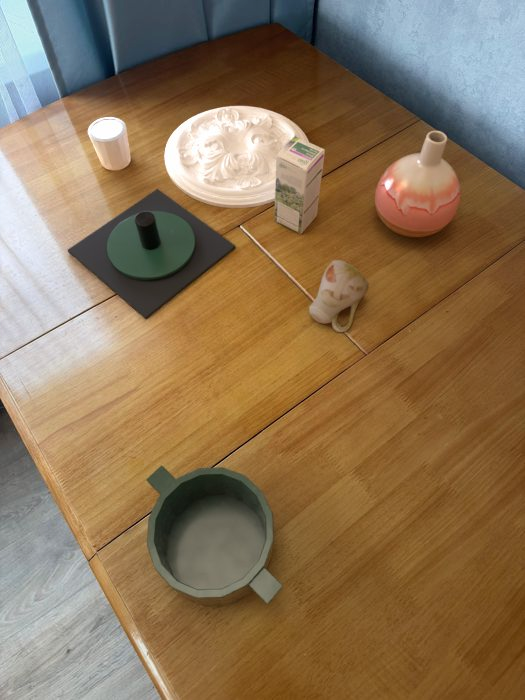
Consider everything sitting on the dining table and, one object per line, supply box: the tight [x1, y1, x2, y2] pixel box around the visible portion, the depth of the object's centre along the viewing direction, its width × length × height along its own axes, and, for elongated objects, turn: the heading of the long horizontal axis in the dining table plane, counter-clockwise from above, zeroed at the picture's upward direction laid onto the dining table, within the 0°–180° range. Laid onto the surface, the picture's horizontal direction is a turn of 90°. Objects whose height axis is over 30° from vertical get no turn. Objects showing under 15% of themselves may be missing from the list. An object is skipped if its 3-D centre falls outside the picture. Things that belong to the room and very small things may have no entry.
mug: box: [308, 259, 370, 333], centre depth 81 cm, size 8×10×10 cm
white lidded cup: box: [87, 116, 132, 171], centre depth 98 cm, size 7×7×7 cm
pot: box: [145, 465, 284, 607], centre depth 61 cm, size 14×19×10 cm
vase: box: [374, 130, 462, 238], centre depth 85 cm, size 14×14×18 cm
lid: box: [107, 211, 195, 280], centre depth 86 cm, size 15×15×7 cm
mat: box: [67, 188, 237, 320], centre depth 89 cm, size 20×20×1 cm
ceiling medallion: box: [164, 105, 310, 209], centre depth 100 cm, size 28×28×3 cm
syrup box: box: [274, 136, 326, 235], centre depth 87 cm, size 6×6×14 cm
